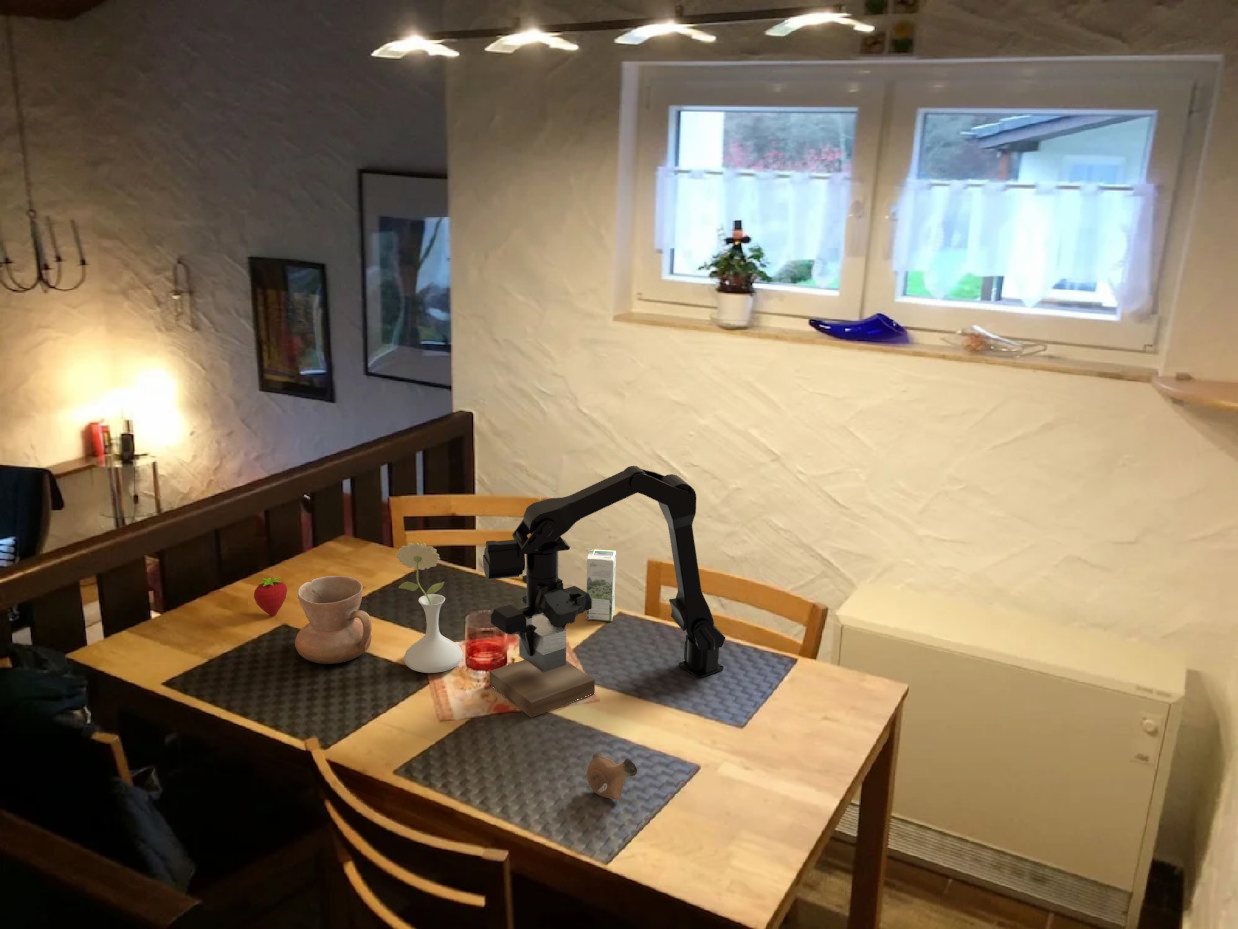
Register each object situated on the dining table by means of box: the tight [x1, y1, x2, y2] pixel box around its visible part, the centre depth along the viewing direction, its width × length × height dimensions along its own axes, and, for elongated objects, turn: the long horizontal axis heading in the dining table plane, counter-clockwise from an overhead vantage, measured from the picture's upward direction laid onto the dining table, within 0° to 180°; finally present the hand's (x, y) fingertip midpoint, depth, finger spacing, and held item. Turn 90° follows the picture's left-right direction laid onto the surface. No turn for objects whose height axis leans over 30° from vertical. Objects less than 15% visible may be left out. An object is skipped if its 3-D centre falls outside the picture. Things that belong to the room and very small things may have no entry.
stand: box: [489, 659, 596, 718], centre depth 191 cm, size 14×14×3 cm
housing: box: [518, 614, 567, 673], centre depth 188 cm, size 8×5×7 cm, turn 38°
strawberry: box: [253, 576, 288, 617], centre depth 217 cm, size 6×8×10 cm
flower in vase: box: [395, 542, 464, 674], centre depth 196 cm, size 13×11×25 cm
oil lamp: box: [586, 752, 638, 801], centre depth 159 cm, size 9×4×8 cm, turn 58°
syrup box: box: [585, 548, 617, 622], centre depth 220 cm, size 6×6×14 cm
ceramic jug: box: [294, 575, 373, 665], centre depth 200 cm, size 18×14×14 cm
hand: (542, 651), depth 189 cm, fingers closed on housing, 5 cm apart
